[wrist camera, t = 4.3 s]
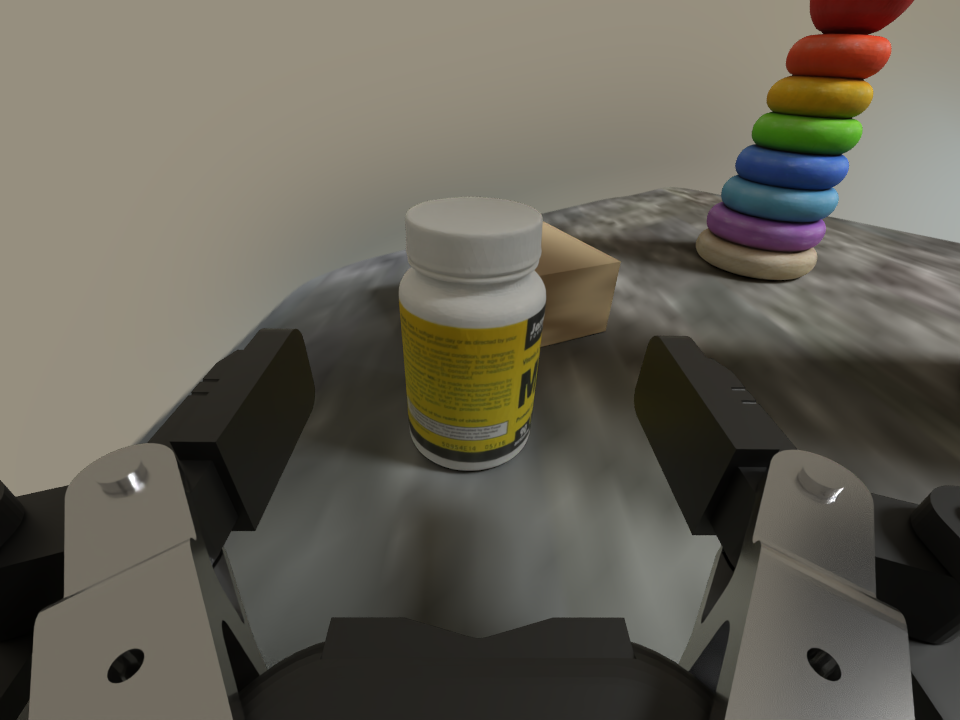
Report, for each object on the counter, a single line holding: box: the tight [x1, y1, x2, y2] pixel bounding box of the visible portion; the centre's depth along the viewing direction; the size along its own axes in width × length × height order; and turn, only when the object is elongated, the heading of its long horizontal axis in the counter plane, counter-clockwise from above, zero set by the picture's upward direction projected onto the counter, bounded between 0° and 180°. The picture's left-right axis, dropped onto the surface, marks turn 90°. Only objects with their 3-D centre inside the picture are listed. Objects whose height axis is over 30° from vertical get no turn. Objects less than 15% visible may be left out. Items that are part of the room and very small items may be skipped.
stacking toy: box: [696, 0, 914, 280], centre depth 28 cm, size 8×8×19 cm
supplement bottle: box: [399, 197, 546, 471], centre depth 15 cm, size 5×5×8 cm
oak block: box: [535, 222, 621, 347], centre depth 24 cm, size 8×8×4 cm
